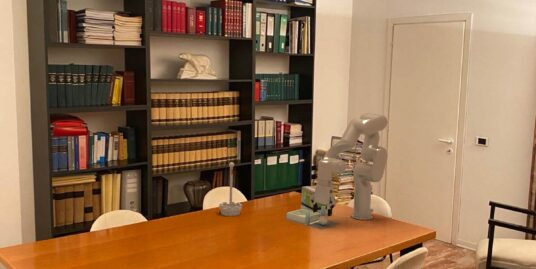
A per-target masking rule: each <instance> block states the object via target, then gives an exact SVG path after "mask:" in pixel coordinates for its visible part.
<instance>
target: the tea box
mask: <svg viewBox="0 0 536 269" xmlns="http://www.w3.org/2000/svg"><path fill="white" fill-rule="evenodd" d="M315 188H316V185H311V186H310V185H309V186H307V185H306V186H301V198H300V199H301V201H300V204H301V205H300V209H305V210H310V211H313V205H312V202H311V199H310V196H312V195H314V193H315ZM317 205H318V211H317V213H320V217H321V206H326V214H325V216H327V213H328V206H327V205H325V204H320V203H318V204H317Z"/></svg>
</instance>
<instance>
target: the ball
mask: <svg viewBox="0 0 536 269" xmlns="http://www.w3.org/2000/svg"><path fill="white" fill-rule="evenodd" d="M327 222H328V216H327V215H325V216H320V218H319V223H320V224H321V225H326V224H327Z"/></svg>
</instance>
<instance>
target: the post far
mask: <svg viewBox="0 0 536 269" xmlns="http://www.w3.org/2000/svg"><path fill="white" fill-rule="evenodd" d="M325 214H326V206H321V216H326V215H325ZM321 216H320V217H321Z"/></svg>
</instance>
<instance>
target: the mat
mask: <svg viewBox="0 0 536 269" xmlns="http://www.w3.org/2000/svg"><path fill="white" fill-rule="evenodd" d="M284 220H286V221H289V222H292V223H296V224H300V225H303V226H306V227H310V228H314V229H318V230H321V231H323V230H326V229H329V228H331V227H335V226H338V225H341V223H340V222H336V221H333V220H328V222H327V224H326V225H321V224H320V223H319V220H316V221H313V222H310V225H305V224H304V223H300V222H297V221H293V220H289V219H287V217H286V218H284Z"/></svg>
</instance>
